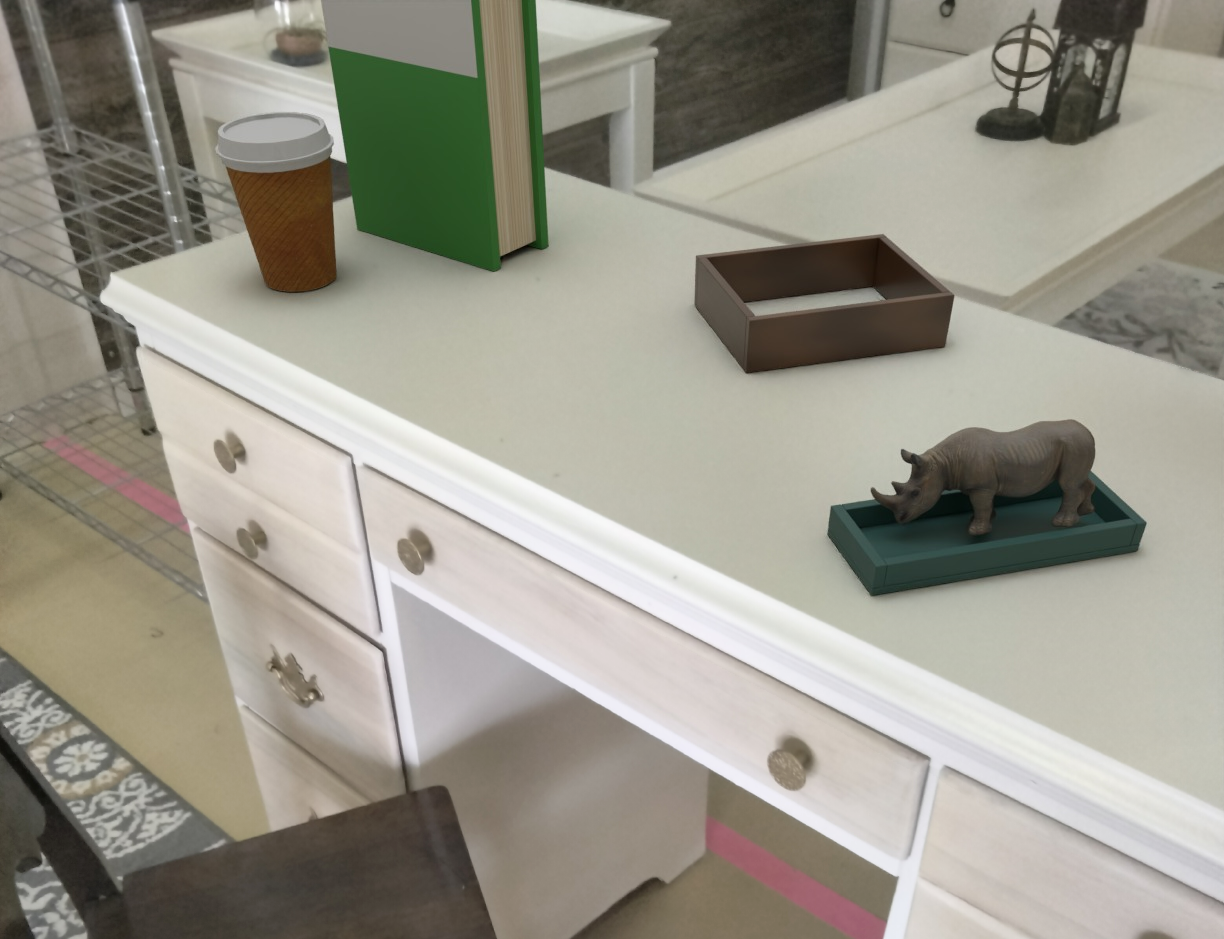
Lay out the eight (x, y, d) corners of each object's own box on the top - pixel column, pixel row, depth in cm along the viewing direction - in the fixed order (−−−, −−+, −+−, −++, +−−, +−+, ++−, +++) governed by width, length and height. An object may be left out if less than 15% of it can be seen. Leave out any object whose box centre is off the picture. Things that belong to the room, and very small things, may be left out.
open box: (877, 282, 103) (883, 233, 101) (945, 346, 94) (955, 294, 91) (694, 304, 101) (695, 255, 98) (746, 373, 91) (749, 320, 89)
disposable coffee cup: (279, 309, 101) (246, 152, 93) (226, 277, 107) (191, 126, 98) (376, 279, 106) (353, 127, 97) (320, 250, 111) (294, 103, 102)
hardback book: (548, 246, 111) (531, -76, 94) (493, 271, 106) (465, -61, 90) (412, 207, 118) (374, -96, 102) (357, 229, 114) (307, -83, 98)
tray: (1078, 494, 78) (1086, 466, 77) (1138, 551, 73) (1147, 522, 72) (827, 533, 75) (830, 505, 74) (871, 596, 70) (876, 566, 69)
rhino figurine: (863, 530, 76) (863, 432, 73) (1085, 508, 75) (1093, 408, 72) (876, 547, 72) (875, 444, 69) (1109, 524, 71) (1118, 419, 69)
